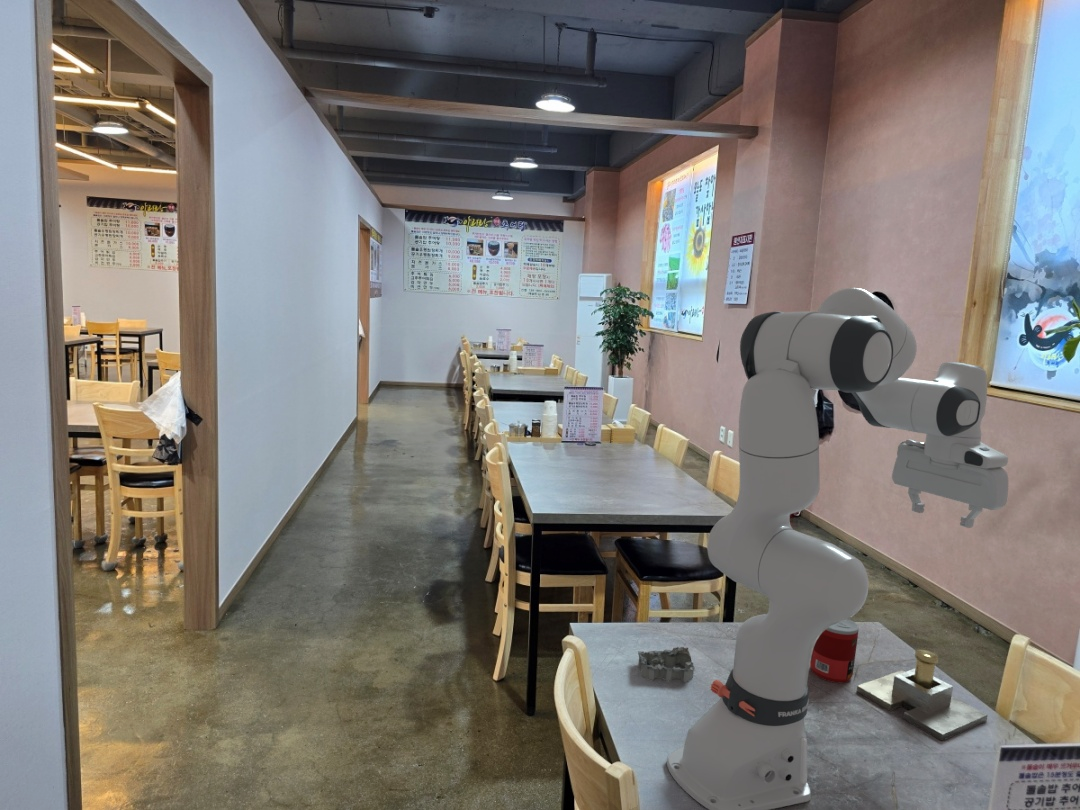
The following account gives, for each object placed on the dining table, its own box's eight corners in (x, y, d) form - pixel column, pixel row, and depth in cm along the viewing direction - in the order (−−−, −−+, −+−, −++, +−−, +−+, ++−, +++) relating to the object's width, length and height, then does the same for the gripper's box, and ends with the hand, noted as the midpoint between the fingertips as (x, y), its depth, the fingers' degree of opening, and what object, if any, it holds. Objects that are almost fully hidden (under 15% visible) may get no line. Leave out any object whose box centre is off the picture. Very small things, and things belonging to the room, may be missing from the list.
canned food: (856, 686, 134) (863, 633, 132) (813, 680, 136) (819, 628, 134) (847, 666, 142) (853, 616, 140) (806, 660, 143) (812, 611, 141)
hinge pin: (924, 707, 126) (930, 661, 125) (904, 696, 129) (910, 652, 128) (936, 702, 128) (943, 657, 126) (916, 691, 131) (923, 648, 130)
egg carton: (688, 665, 139) (690, 646, 139) (695, 685, 132) (697, 666, 131) (636, 661, 140) (638, 642, 139) (639, 681, 132) (641, 661, 132)
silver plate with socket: (941, 741, 118) (945, 714, 117) (856, 691, 132) (859, 667, 132) (986, 720, 125) (990, 695, 124) (901, 675, 139) (904, 652, 138)
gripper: (890, 438, 137) (881, 505, 139) (998, 461, 119) (987, 537, 121) (909, 437, 140) (900, 502, 142) (1018, 459, 122) (1006, 533, 124)
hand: (941, 519), depth 131 cm, fingers open, 8 cm apart
